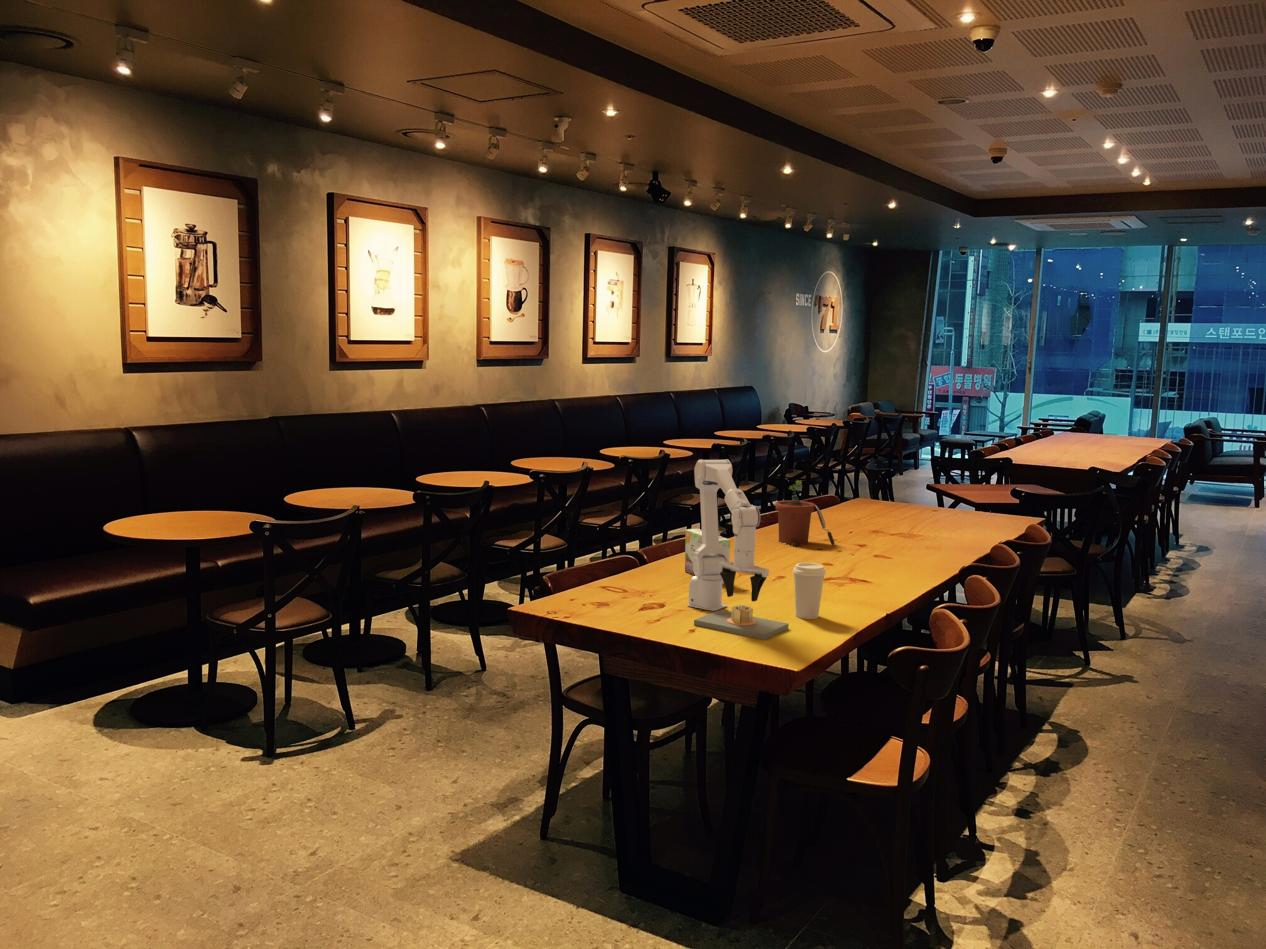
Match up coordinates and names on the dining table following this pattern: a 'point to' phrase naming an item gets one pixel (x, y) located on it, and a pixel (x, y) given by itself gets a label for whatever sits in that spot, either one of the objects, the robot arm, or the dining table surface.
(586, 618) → the dining table surface
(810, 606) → the coffee cup
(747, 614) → the wooden collar
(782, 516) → the potted plant
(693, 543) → the snack box
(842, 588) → the dining table surface
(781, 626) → the post board
